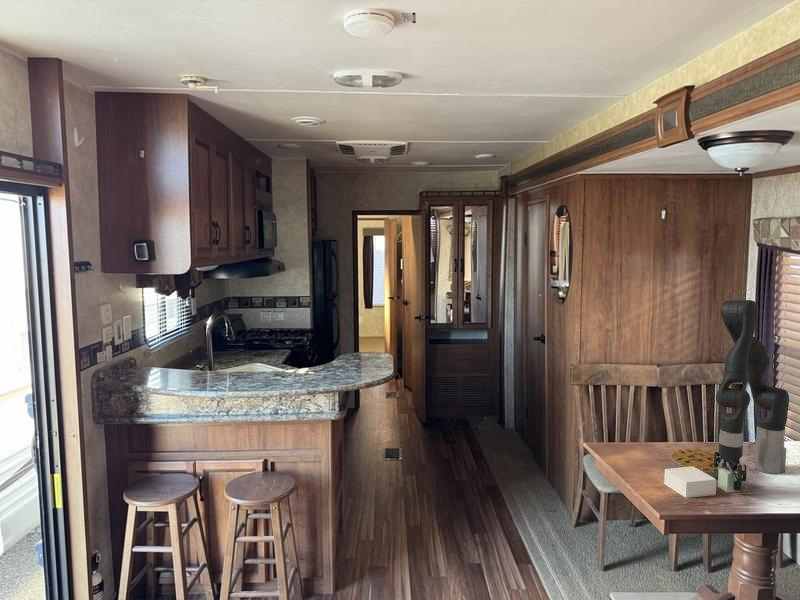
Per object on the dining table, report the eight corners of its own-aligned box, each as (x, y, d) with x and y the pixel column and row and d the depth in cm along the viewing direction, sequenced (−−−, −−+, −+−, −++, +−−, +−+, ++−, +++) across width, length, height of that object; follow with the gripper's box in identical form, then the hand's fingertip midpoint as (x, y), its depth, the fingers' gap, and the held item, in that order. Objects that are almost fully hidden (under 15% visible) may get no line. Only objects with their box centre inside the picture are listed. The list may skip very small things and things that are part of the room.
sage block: (730, 485, 209) (731, 467, 208) (739, 491, 204) (740, 473, 203) (717, 486, 208) (718, 468, 208) (727, 492, 204) (727, 474, 203)
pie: (700, 455, 239) (700, 444, 238) (746, 475, 218) (746, 462, 218) (658, 462, 232) (659, 450, 232) (702, 483, 211) (702, 470, 211)
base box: (692, 481, 214) (693, 466, 213) (715, 495, 202) (716, 479, 201) (664, 484, 212) (664, 469, 211) (685, 498, 200) (686, 482, 199)
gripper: (754, 449, 198) (752, 493, 199) (727, 435, 212) (725, 477, 213) (734, 450, 197) (732, 494, 199) (708, 436, 211) (706, 478, 213)
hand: (728, 485), depth 206 cm, fingers open, 8 cm apart
